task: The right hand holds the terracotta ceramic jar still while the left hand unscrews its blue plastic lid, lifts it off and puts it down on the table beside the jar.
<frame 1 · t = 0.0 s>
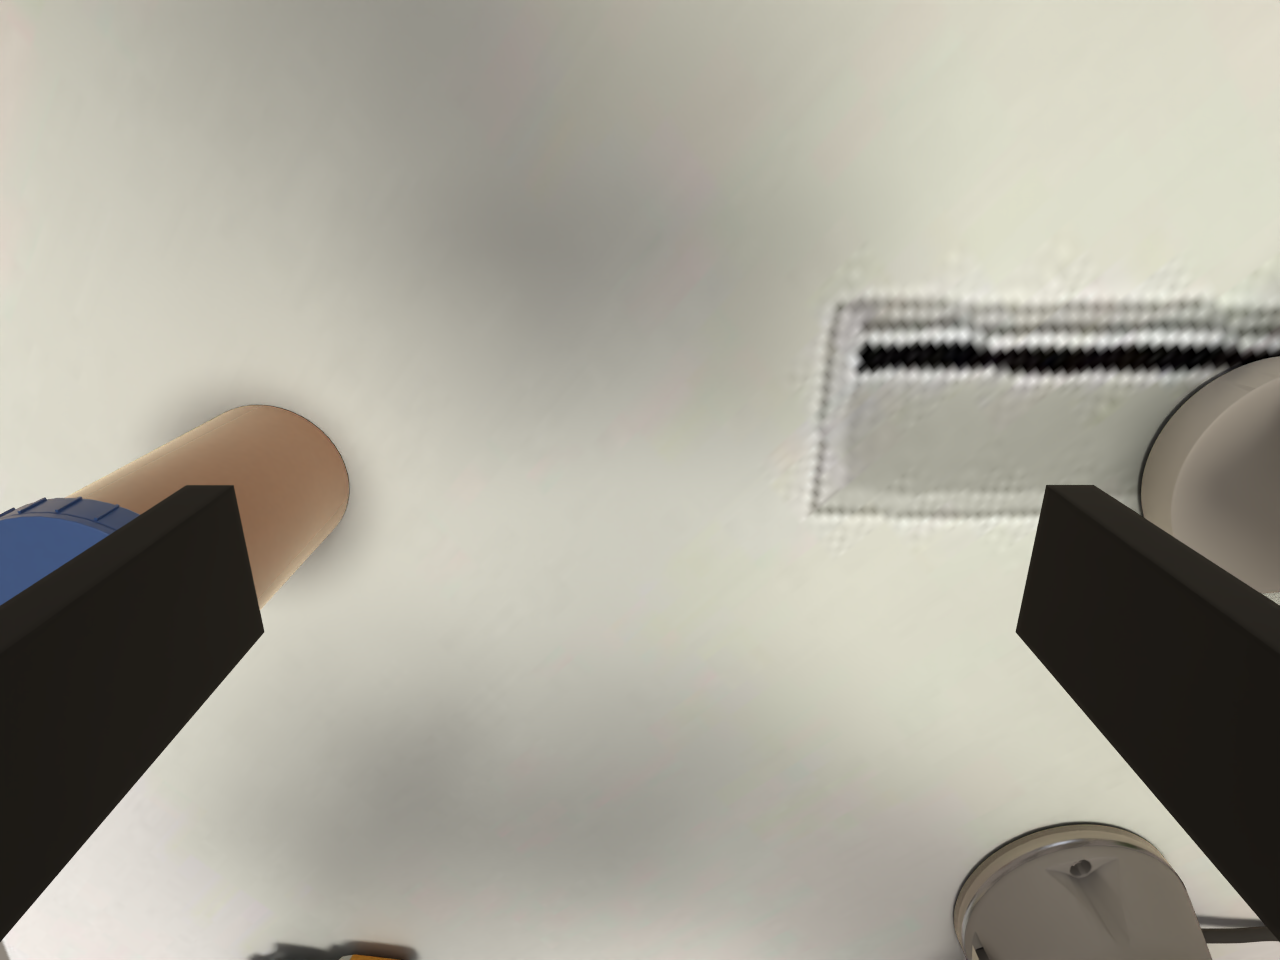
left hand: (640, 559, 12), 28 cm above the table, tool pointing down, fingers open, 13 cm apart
jar: (271, 479, 42), on the table
lid: (77, 631, 27), point 16 cm above the table, screwed on, not yet turned
bust sculpture: (1267, 400, 40), on the table
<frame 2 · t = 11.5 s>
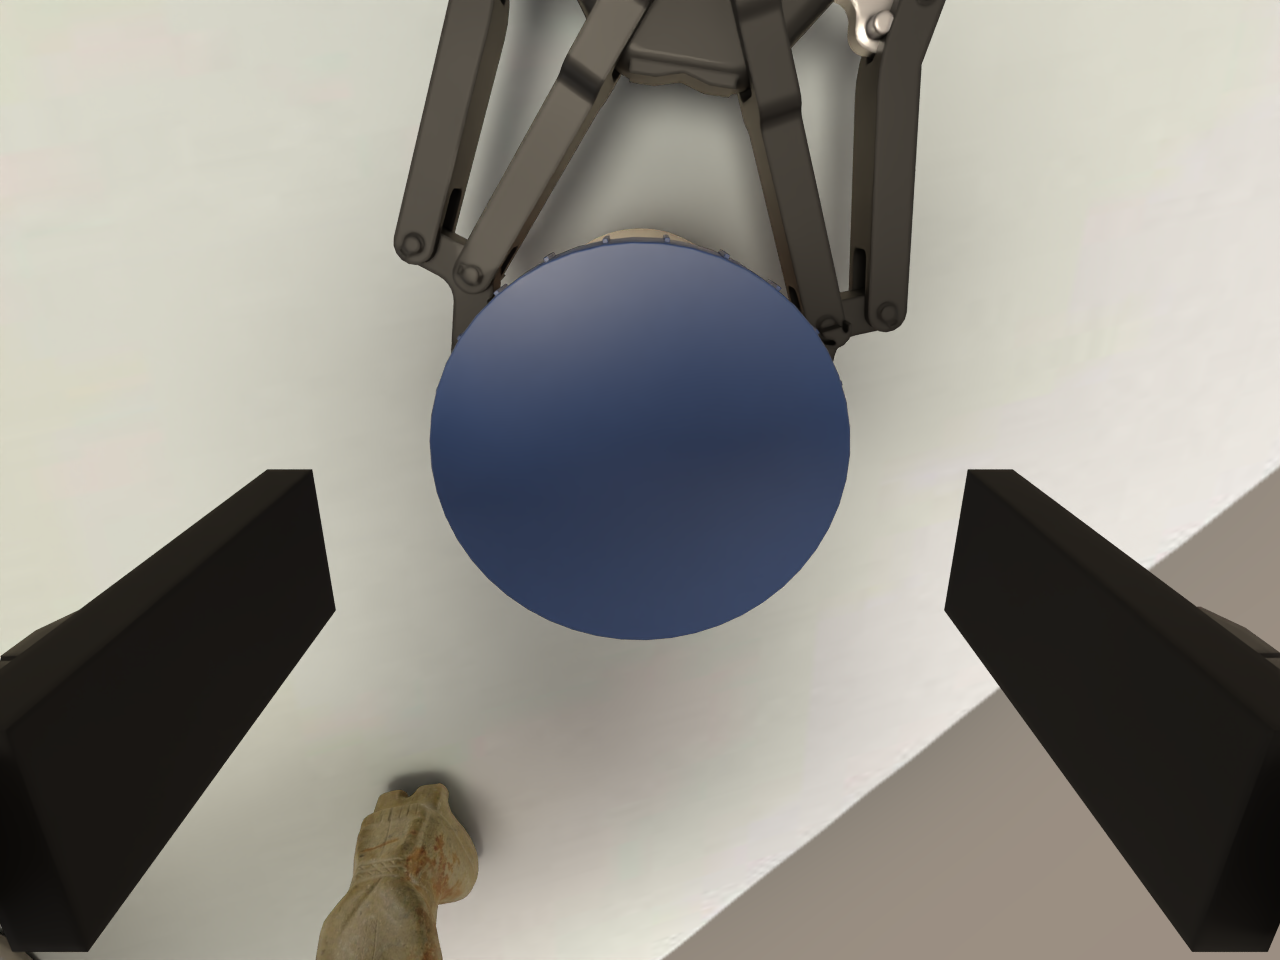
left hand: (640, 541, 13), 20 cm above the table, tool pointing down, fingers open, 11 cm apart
right hand: (622, 496, 27), fingers closed on jar, 9 cm apart
jar: (640, 335, 32), on the table, touching right hand
sculpture: (431, 817, 41), on the table
lid: (640, 456, 17), point 16 cm above the table, screwed on, not yet turned
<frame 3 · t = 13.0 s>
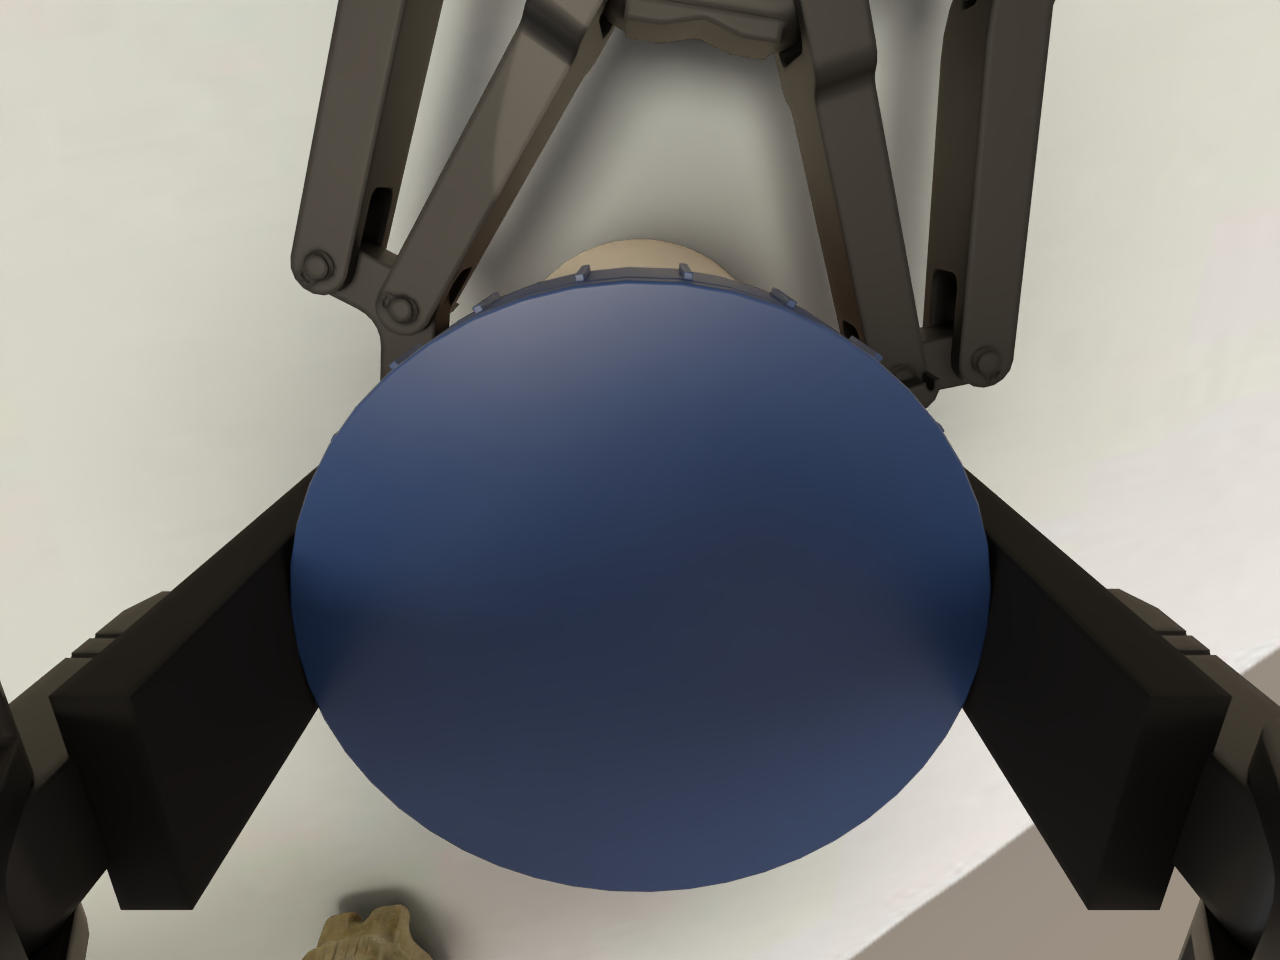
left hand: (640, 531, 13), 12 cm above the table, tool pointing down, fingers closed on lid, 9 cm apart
right hand: (616, 597, 20), fingers closed on jar, 9 cm apart
jar: (639, 373, 25), on the table, touching right hand
sculpture: (390, 940, 35), on the table
lid: (640, 623, 11), point 15 cm above the table, screwed on, not yet turned, touching left hand
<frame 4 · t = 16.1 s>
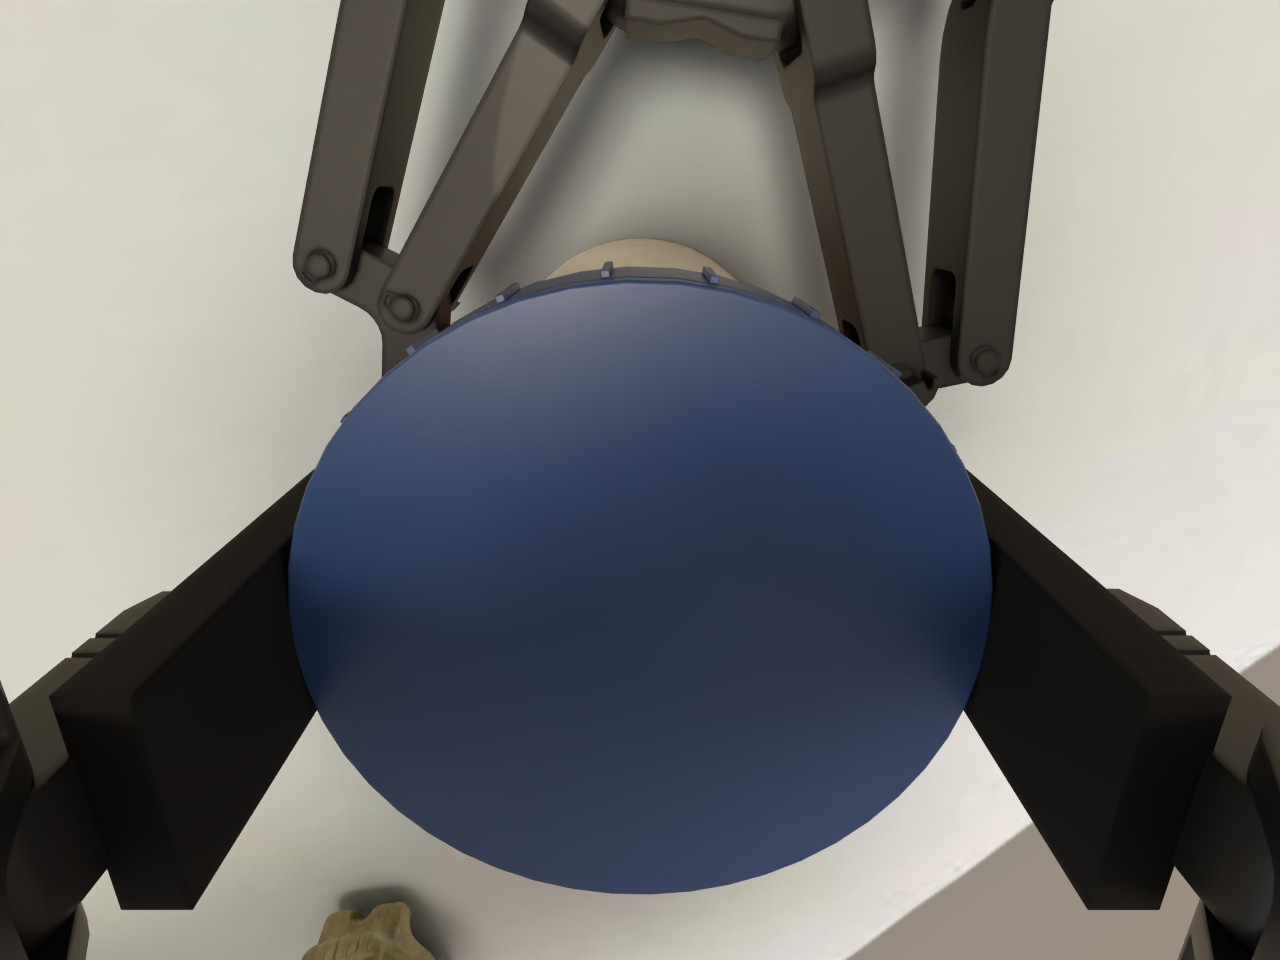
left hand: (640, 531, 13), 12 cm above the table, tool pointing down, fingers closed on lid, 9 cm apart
right hand: (616, 595, 20), fingers closed on jar, 9 cm apart
jar: (640, 372, 25), on the table, touching right hand
sculpture: (391, 937, 35), on the table
lid: (640, 625, 11), point 16 cm above the table, turned 90° so far, risen 0.1 cm, still on its thread, touching left hand
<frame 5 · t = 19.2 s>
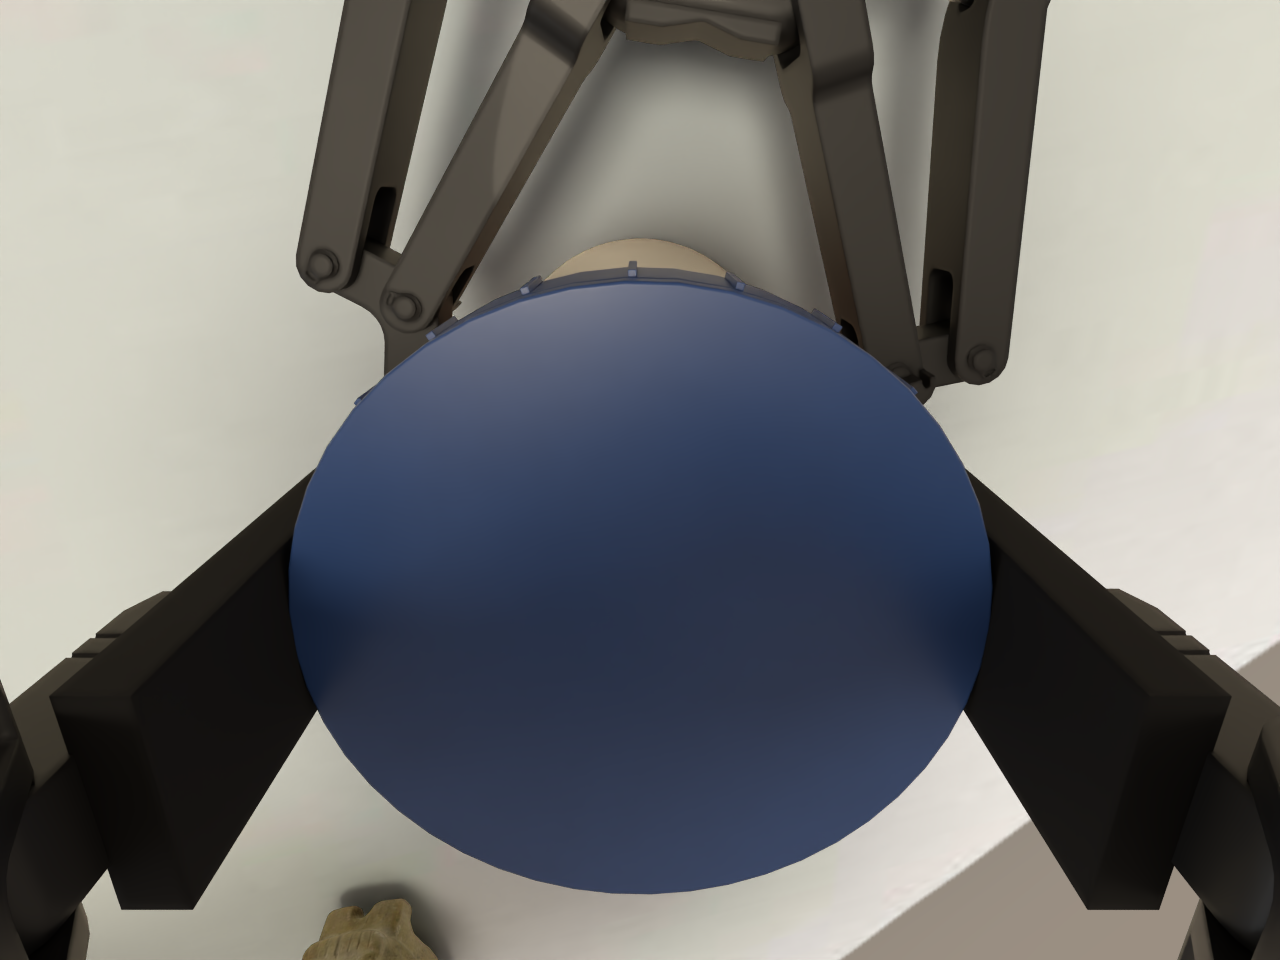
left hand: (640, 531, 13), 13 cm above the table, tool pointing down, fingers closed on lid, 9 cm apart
right hand: (616, 592, 21), fingers closed on jar, 9 cm apart
jar: (640, 371, 25), on the table, touching right hand
sculpture: (392, 934, 35), on the table
lid: (640, 625, 11), point 16 cm above the table, turned 180° so far, risen 0.3 cm, still on its thread, touching left hand
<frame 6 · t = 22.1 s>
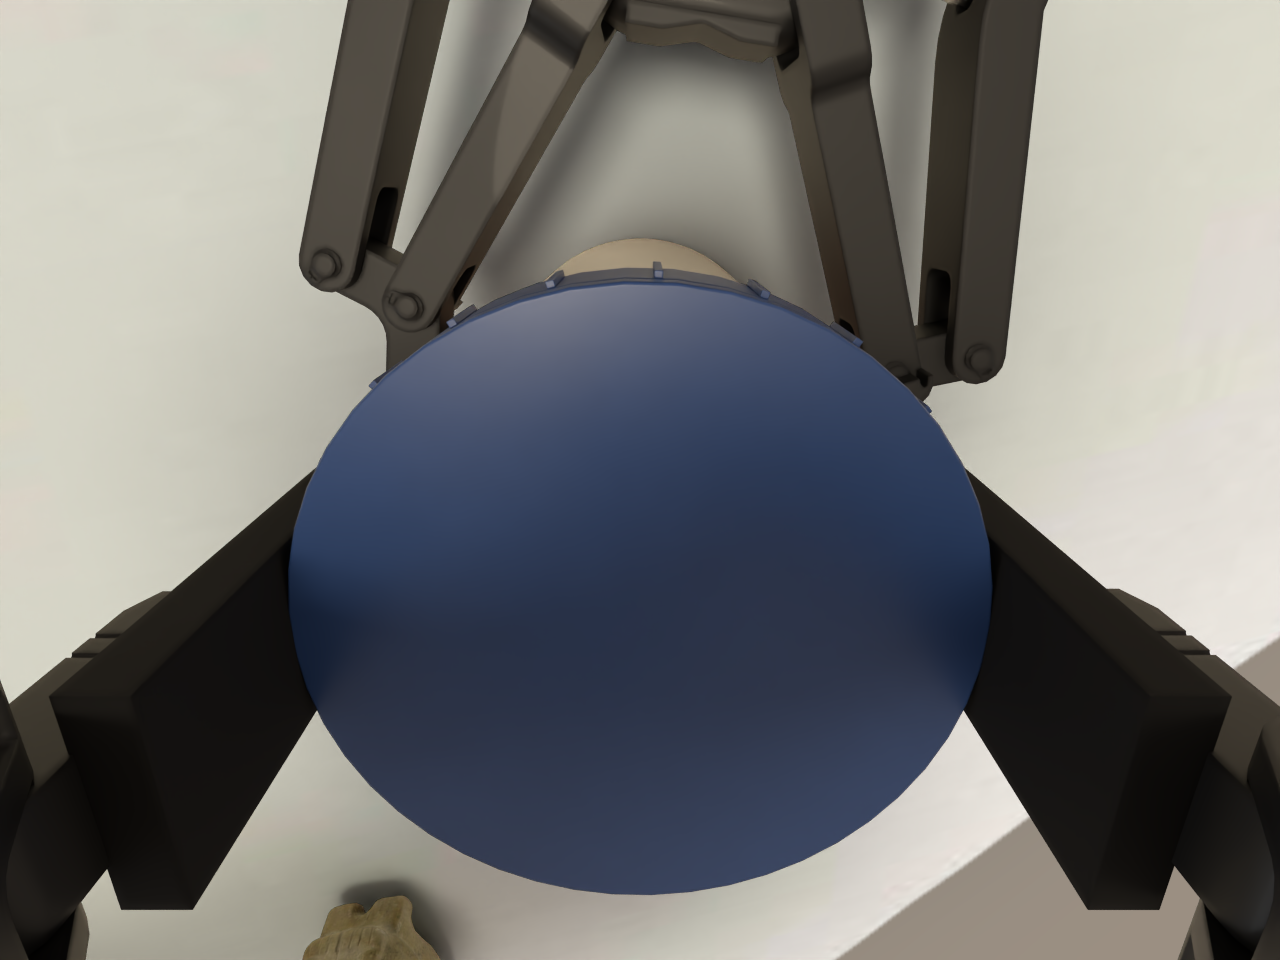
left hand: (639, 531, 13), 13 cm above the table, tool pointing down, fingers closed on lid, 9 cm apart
right hand: (616, 590, 21), fingers closed on jar, 9 cm apart
jar: (640, 371, 25), on the table, touching right hand
sculpture: (393, 931, 35), on the table
lid: (640, 626, 11), point 16 cm above the table, turned 270° so far, risen 0.4 cm, still on its thread, touching left hand
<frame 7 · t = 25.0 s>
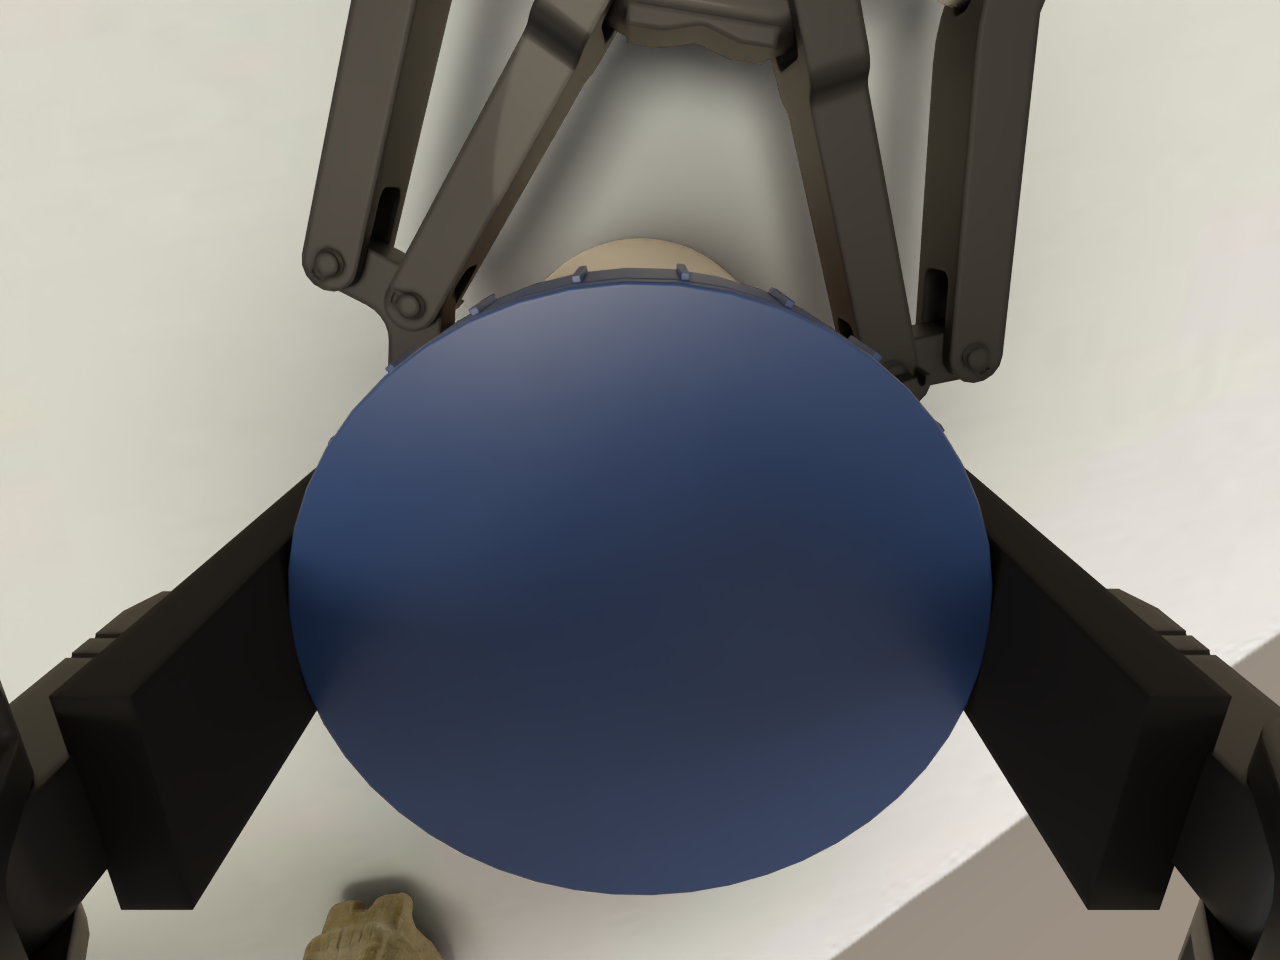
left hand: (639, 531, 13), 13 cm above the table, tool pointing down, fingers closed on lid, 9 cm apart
right hand: (616, 587, 21), fingers closed on jar, 9 cm apart
jar: (640, 370, 26), on the table, touching right hand
sculpture: (393, 928, 35), on the table
lid: (639, 626, 11), point 16 cm above the table, turned 361° so far, risen 0.6 cm, still on its thread, touching left hand
when the left hand's fingers open (0 cm above the table, at t = 31.0 s): lid drops 2 cm, point 1 cm above the table.
when the right hand's fingers open (7 cm above the table, at t = 32.0 s): jar stays where it is, on the table.
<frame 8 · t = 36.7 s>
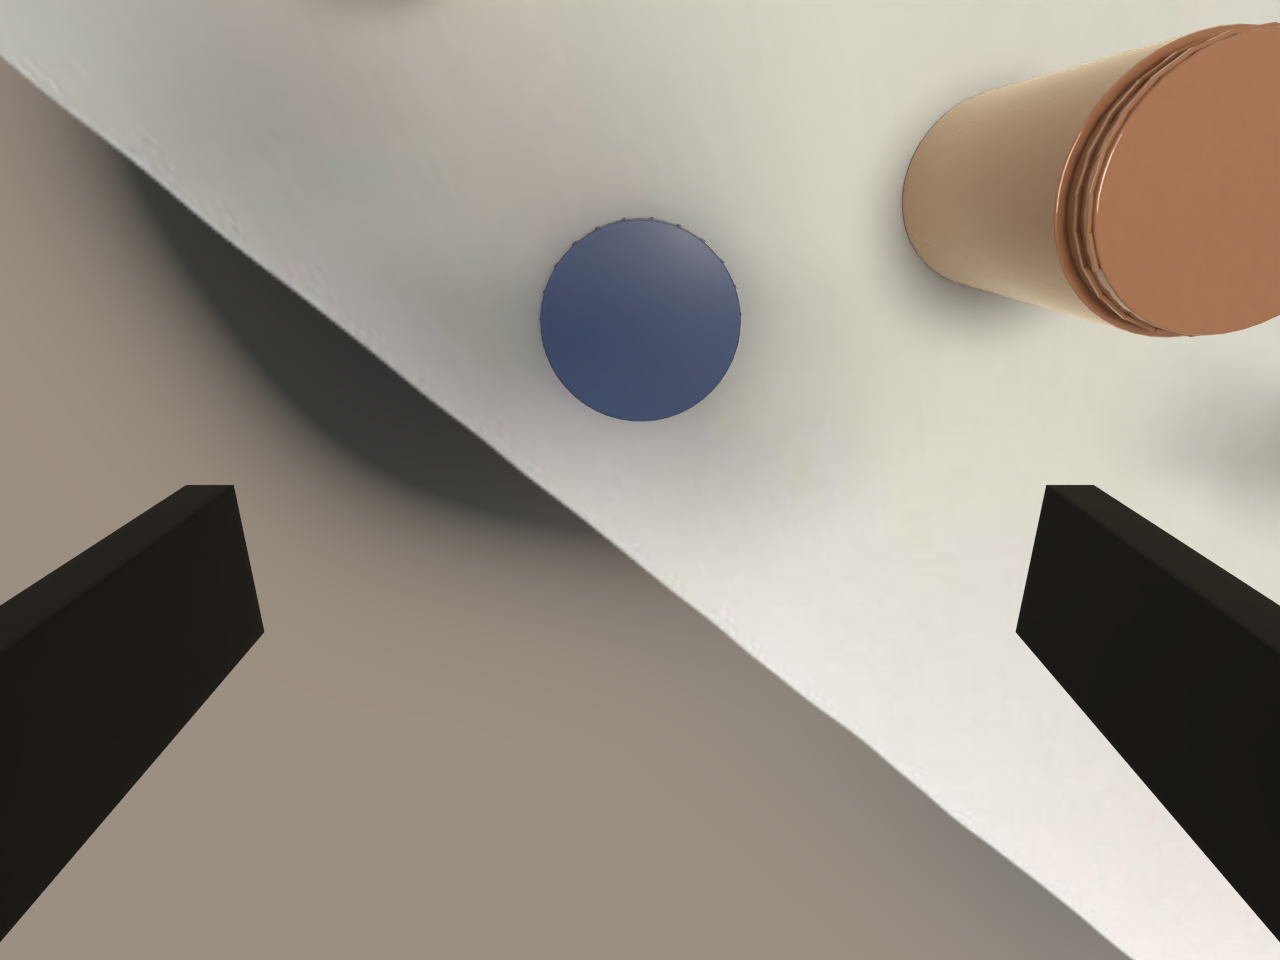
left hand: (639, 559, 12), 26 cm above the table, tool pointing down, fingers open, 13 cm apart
jar: (994, 191, 35), on the table
lid: (640, 324, 36), point 1 cm above the table, off its thread
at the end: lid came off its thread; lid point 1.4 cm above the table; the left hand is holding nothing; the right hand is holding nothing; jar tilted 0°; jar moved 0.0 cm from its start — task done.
